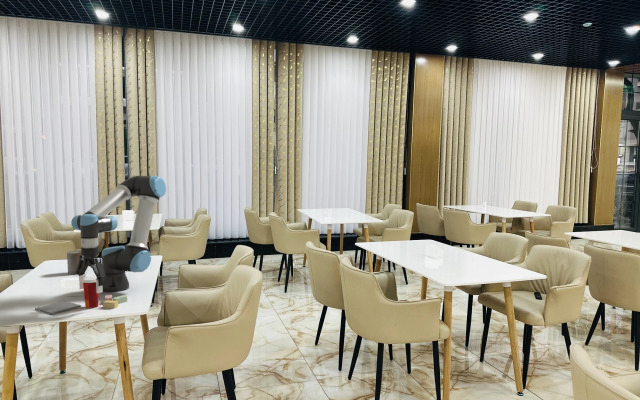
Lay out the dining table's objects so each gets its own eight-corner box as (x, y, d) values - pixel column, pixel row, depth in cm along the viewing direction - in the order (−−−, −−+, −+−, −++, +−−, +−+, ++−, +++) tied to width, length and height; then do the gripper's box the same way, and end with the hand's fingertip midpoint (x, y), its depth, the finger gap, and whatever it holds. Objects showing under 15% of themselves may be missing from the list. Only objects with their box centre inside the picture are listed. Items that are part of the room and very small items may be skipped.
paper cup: (103, 304, 231) (102, 276, 230) (96, 309, 223) (95, 280, 222) (87, 304, 230) (86, 276, 229) (79, 309, 223) (78, 280, 222)
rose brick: (105, 301, 236) (105, 295, 236) (112, 300, 238) (111, 294, 237) (105, 304, 231) (105, 298, 231) (112, 303, 232) (112, 297, 232)
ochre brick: (103, 308, 225) (103, 302, 225) (107, 306, 228) (106, 300, 228) (114, 308, 224) (114, 302, 224) (118, 307, 227) (118, 300, 227)
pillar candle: (88, 271, 300) (87, 248, 299) (79, 275, 290) (77, 251, 289) (74, 271, 301) (72, 248, 300) (64, 274, 291) (63, 250, 290)
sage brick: (123, 301, 237) (123, 295, 236) (127, 302, 235) (127, 296, 235) (112, 304, 232) (112, 298, 231) (116, 305, 230) (116, 299, 230)
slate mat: (64, 302, 234) (64, 300, 233) (81, 306, 226) (81, 305, 226) (35, 309, 222) (35, 308, 222) (51, 314, 214) (51, 313, 214)
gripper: (67, 245, 228) (68, 288, 229) (98, 250, 215) (99, 296, 216) (82, 243, 234) (83, 285, 236) (113, 248, 221) (114, 292, 222)
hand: (91, 290), depth 226 cm, fingers open, 13 cm apart
